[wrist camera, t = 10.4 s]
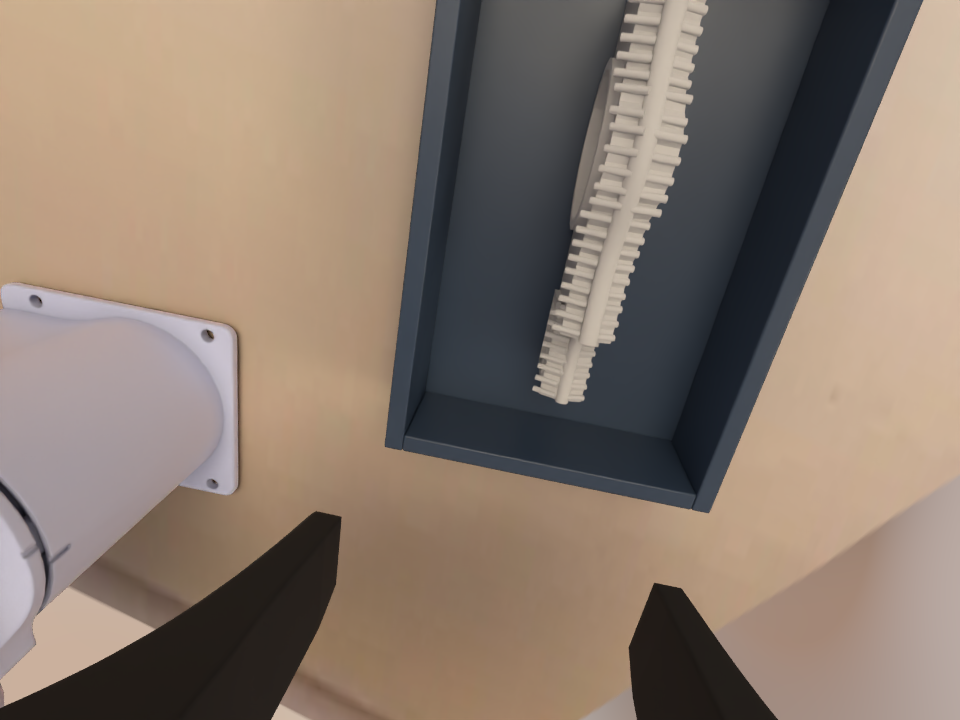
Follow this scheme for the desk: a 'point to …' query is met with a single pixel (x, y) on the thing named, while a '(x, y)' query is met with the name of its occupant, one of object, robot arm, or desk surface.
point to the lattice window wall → (620, 183)
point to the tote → (663, 257)
